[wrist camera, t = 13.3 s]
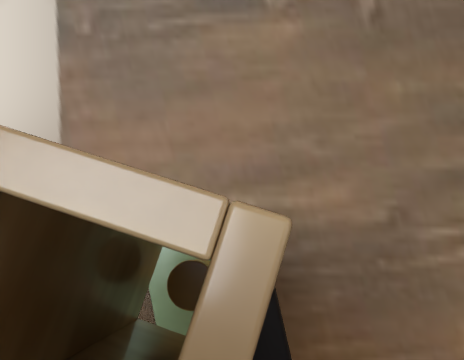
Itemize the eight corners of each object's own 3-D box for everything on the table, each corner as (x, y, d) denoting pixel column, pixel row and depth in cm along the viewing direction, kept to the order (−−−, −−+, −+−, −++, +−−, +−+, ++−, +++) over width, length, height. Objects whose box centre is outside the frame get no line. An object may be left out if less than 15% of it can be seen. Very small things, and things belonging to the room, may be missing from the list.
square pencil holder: (223, 366, 15) (94, 895, 3) (118, 328, 15) (-412, 623, 3) (261, 246, 16) (295, 217, 3) (160, 212, 16) (-132, 81, 4)
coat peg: (163, 344, 19) (143, 365, 15) (142, 241, 19) (119, 239, 16) (264, 318, 19) (267, 334, 15) (238, 217, 19) (236, 209, 16)
